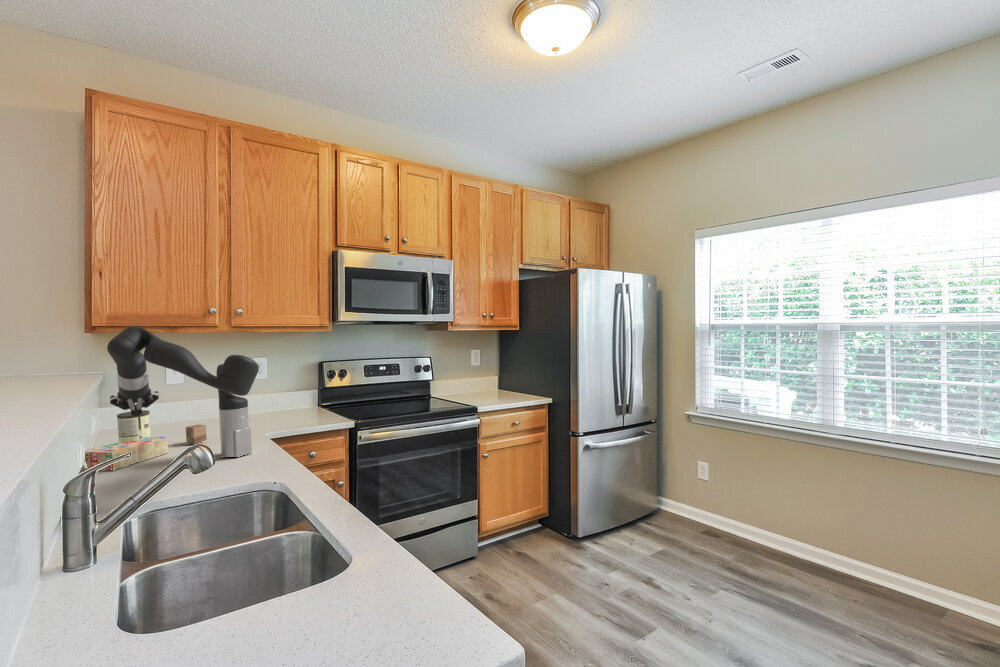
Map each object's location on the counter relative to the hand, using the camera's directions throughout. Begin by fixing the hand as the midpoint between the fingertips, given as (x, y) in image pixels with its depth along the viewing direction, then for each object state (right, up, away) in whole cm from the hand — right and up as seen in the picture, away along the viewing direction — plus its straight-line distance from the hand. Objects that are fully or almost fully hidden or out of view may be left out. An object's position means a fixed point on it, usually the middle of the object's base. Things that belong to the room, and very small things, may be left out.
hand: (136, 414), depth 160 cm
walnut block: (-4, -18, +38) cm, 42 cm away
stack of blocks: (-7, -16, +13) cm, 22 cm away
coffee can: (-24, -19, +32) cm, 44 cm away
